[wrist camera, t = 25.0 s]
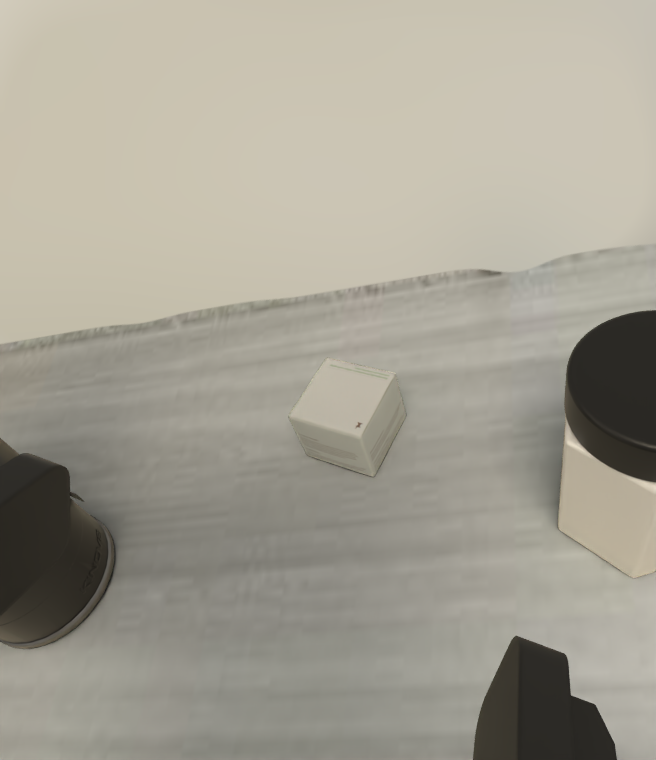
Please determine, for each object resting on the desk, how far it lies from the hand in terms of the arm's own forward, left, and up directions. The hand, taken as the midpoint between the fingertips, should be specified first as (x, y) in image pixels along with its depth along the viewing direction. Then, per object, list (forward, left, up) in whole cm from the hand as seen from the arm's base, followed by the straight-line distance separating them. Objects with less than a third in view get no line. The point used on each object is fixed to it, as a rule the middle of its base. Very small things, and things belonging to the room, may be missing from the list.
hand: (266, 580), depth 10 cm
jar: (+13, +13, -25) cm, 31 cm away
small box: (-3, +21, -25) cm, 33 cm away
